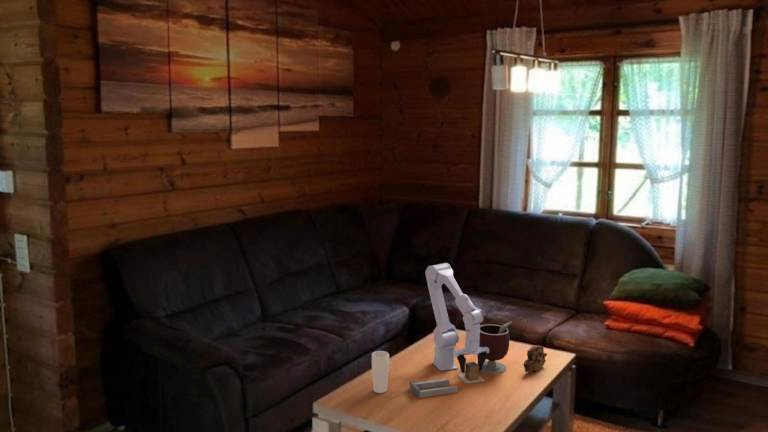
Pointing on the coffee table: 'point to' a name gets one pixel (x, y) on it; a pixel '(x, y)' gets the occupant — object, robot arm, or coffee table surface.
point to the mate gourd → (494, 346)
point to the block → (471, 371)
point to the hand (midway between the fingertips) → (471, 370)
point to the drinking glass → (380, 371)
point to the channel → (419, 387)
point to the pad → (468, 380)
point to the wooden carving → (535, 358)
